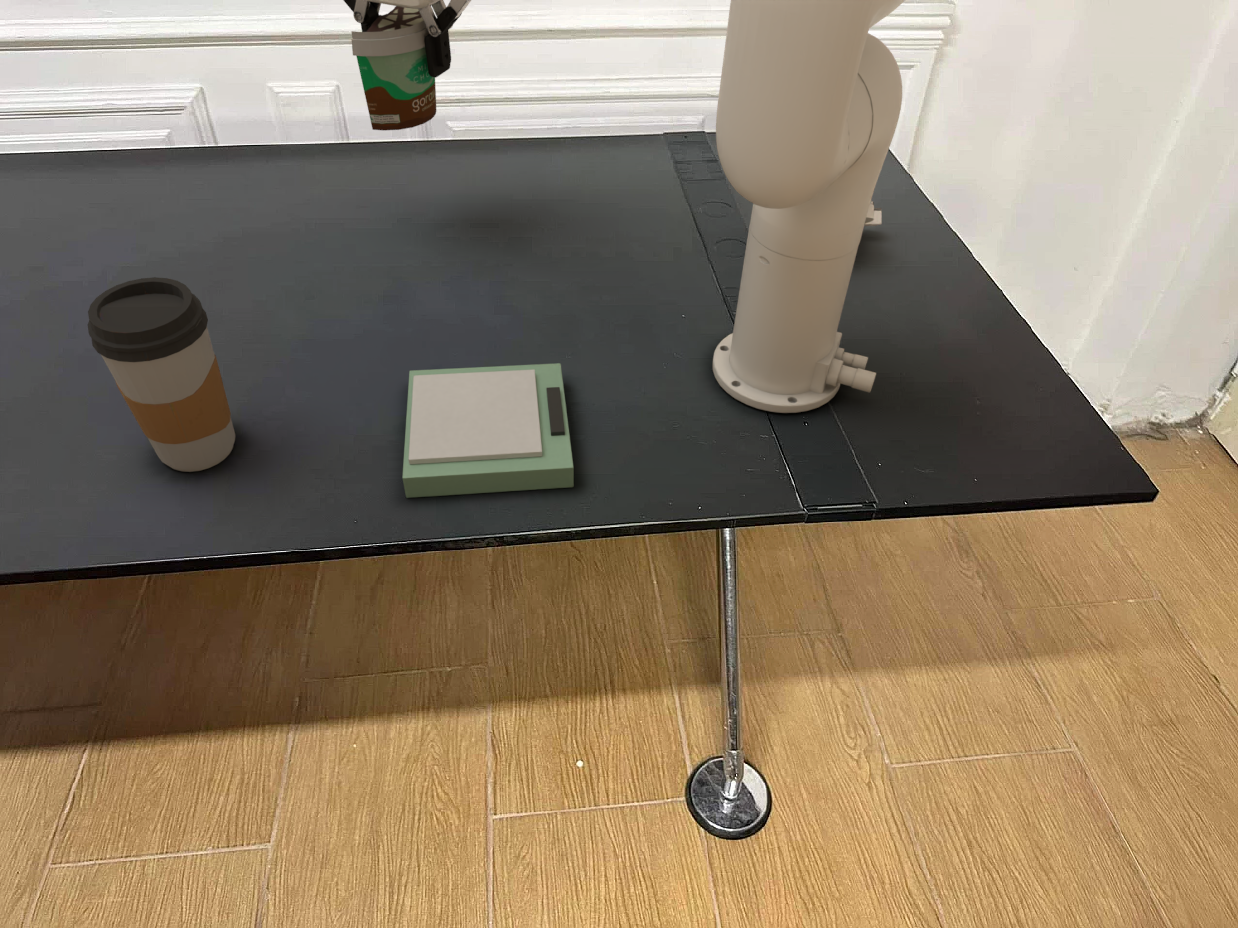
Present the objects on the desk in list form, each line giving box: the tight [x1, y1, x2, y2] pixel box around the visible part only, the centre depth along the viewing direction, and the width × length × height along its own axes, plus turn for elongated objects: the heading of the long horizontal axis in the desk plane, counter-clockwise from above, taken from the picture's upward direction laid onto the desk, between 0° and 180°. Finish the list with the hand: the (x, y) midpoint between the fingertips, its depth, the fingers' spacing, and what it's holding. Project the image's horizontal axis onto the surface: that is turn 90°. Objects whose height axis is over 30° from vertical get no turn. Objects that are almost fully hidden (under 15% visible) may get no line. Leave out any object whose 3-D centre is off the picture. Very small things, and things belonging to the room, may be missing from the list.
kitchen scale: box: [401, 362, 575, 499], centre depth 80 cm, size 14×14×3 cm
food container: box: [350, 6, 437, 131], centre depth 93 cm, size 12×6×10 cm, turn 168°
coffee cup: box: [87, 276, 236, 473], centre depth 73 cm, size 8×8×15 cm
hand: (409, 65), depth 93 cm, fingers closed on food container, 6 cm apart
